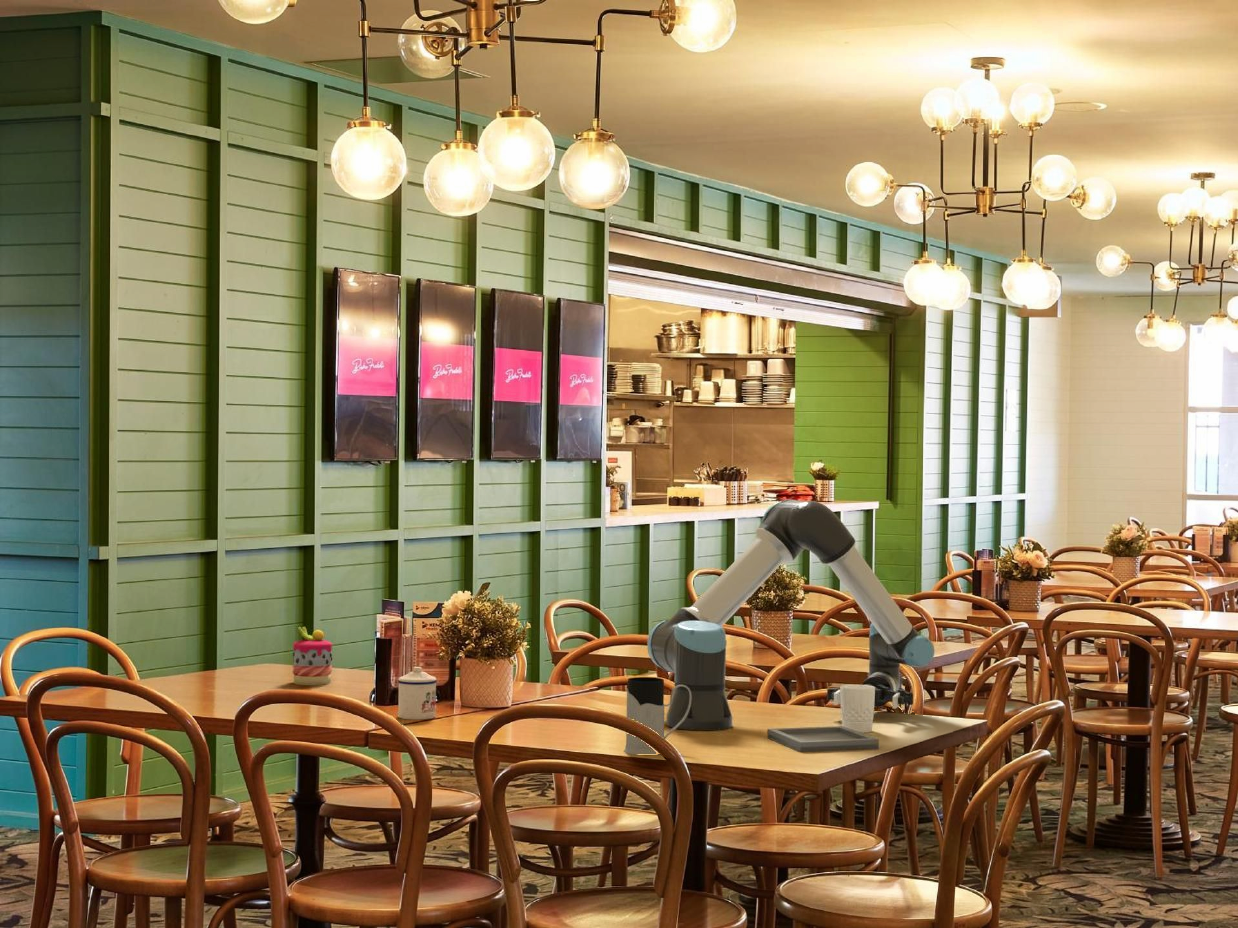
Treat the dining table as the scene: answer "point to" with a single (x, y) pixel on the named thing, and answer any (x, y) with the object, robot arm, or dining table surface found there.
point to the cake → (312, 659)
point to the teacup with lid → (417, 695)
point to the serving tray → (822, 738)
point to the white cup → (857, 707)
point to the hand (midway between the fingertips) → (864, 700)
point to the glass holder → (648, 710)
